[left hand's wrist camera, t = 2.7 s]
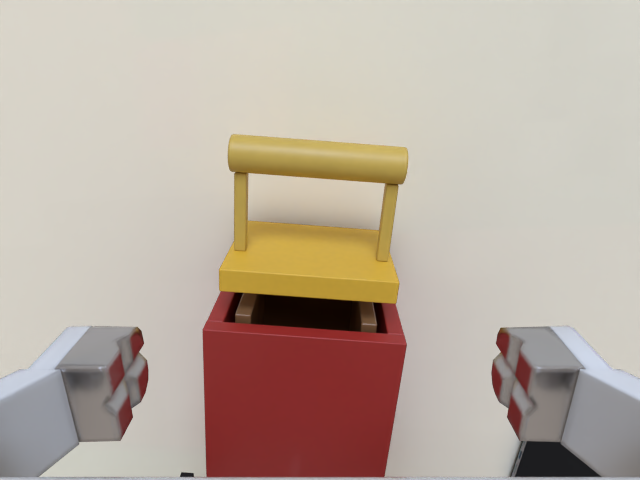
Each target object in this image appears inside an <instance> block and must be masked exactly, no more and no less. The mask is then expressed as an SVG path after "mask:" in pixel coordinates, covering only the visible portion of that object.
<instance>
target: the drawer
mask: <svg viewBox="0 0 640 480" xmlns="http://www.w3.org/2000/svg"><path fill="white" fill-rule="evenodd" d="M228 165H229V169H230V171H232V172H235V174H234V242H233V244H232V246H231V248H230V250H229V252H228V254H227V255H226V257H225V259H224V261H223V263H222V265H221V267H220V269H219V290H220V291H224V292H238V293H243V295H242V297H241V300H240V303H239V306H238V308H237V311H236V314H235V323H244V324H258V325H272V326H286V327H300V328H314V329H327V330H341V331H355V332H369V333H376V330H377V322H376V316H375V311H374V305H373V302H377V303H390V304H396V302H397V295H398V289H399V280H398V277H397V274H396V271H395V268H394V264H393V261H392V258H391V255H390V252H389V251H390V243H391V236H392V229H393V222H394V215H395V208H396V201H397V193H398V184H403V183H404V181H405V178H406V174H407V168H408V151H407V148H405V147H395V146H382V145H368V144H355V143H342V142H329V141H316V140H303V139H290V138H276V137H263V136H250V135H237V134H233V135H231V137H230V140H229V146H228ZM248 173H255V174H269V175H282V176H295V177H309V178H322V179H335V180H348V181H362V182H375V183H385V188H384V196H383V204H382V212H381V219H380V227H379V230H366V229H353V228H339V227H326V226H312V225H299V224H285V223H272V222H258V221H248Z"/></svg>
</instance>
